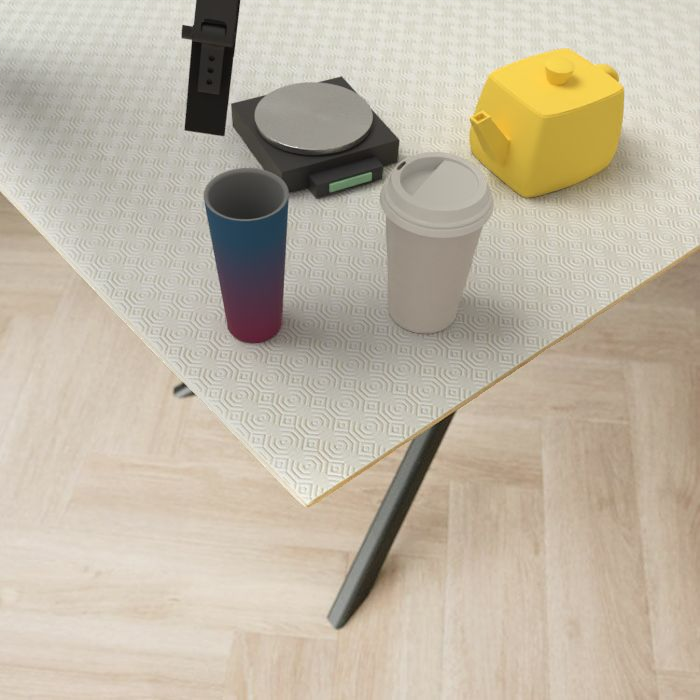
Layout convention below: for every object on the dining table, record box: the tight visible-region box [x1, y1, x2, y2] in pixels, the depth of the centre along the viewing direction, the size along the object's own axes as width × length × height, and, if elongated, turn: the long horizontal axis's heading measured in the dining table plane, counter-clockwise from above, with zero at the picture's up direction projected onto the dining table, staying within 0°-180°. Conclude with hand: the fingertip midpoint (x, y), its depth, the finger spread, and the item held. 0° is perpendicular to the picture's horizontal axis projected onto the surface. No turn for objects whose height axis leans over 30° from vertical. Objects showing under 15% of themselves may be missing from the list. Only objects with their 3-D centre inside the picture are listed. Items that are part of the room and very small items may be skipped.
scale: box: [230, 75, 400, 199], centre depth 101 cm, size 16×14×3 cm
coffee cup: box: [379, 151, 495, 334], centre depth 80 cm, size 10×10×15 cm
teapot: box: [468, 47, 625, 199], centre depth 98 cm, size 20×12×12 cm, turn 122°
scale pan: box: [254, 81, 373, 155], centre depth 100 cm, size 13×13×1 cm
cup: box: [203, 167, 290, 344], centre depth 78 cm, size 7×7×15 cm
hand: (211, 89), depth 67 cm, fingers open, 13 cm apart
